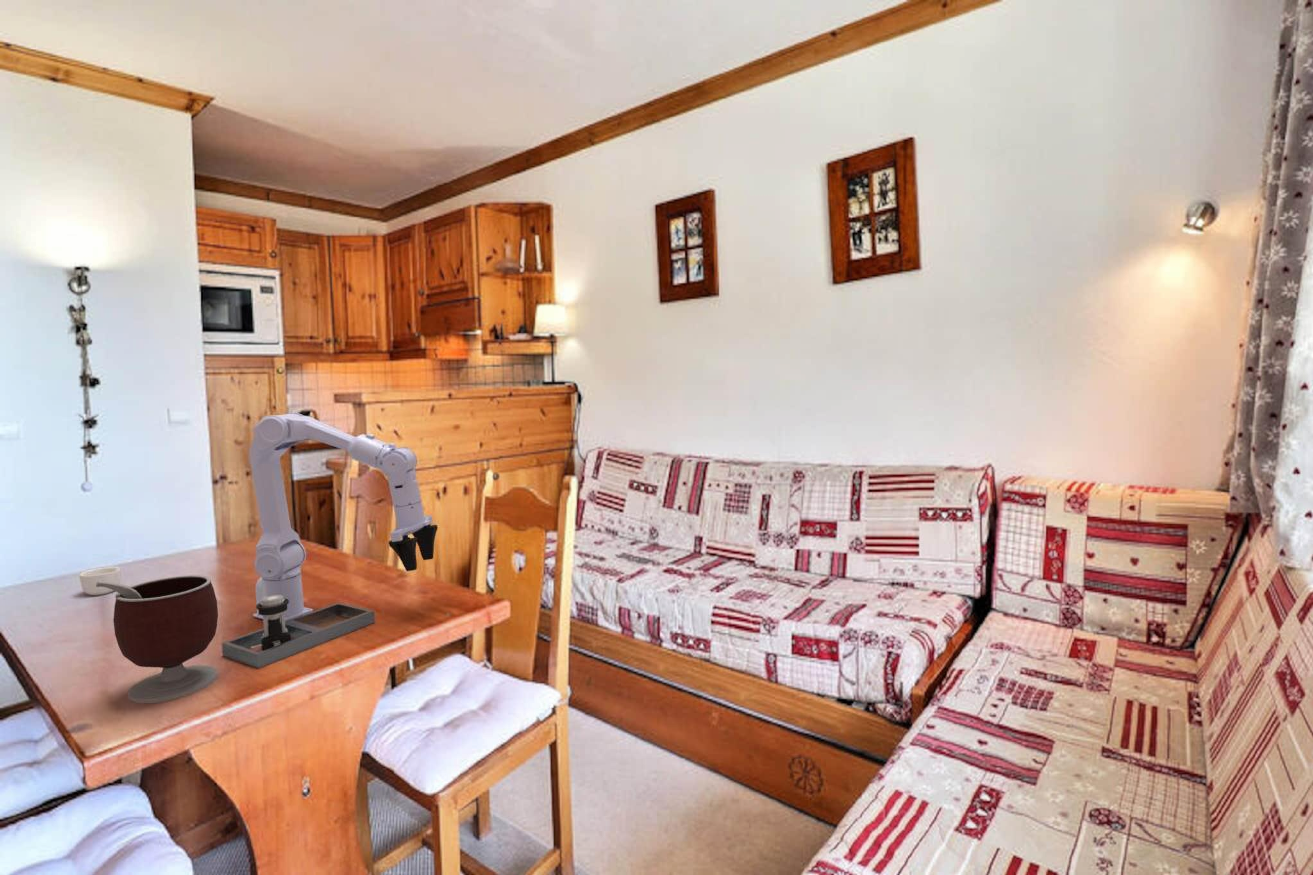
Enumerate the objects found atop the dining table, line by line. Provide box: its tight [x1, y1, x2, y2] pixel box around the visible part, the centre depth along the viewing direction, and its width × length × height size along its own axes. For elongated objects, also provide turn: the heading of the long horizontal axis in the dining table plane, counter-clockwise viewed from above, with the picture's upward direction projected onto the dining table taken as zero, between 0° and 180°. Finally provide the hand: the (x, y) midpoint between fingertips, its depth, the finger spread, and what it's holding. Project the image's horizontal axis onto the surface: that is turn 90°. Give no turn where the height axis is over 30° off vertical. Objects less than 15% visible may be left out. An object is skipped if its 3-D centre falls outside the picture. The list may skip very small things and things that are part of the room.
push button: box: [250, 595, 292, 652], centre depth 123 cm, size 7×5×10 cm
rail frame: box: [221, 602, 376, 669], centre depth 129 cm, size 12×24×2 cm, turn 150°
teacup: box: [78, 566, 121, 596], centre depth 161 cm, size 10×8×5 cm
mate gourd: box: [96, 574, 219, 704], centre depth 109 cm, size 16×14×20 cm
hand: (420, 564), depth 141 cm, fingers open, 7 cm apart
